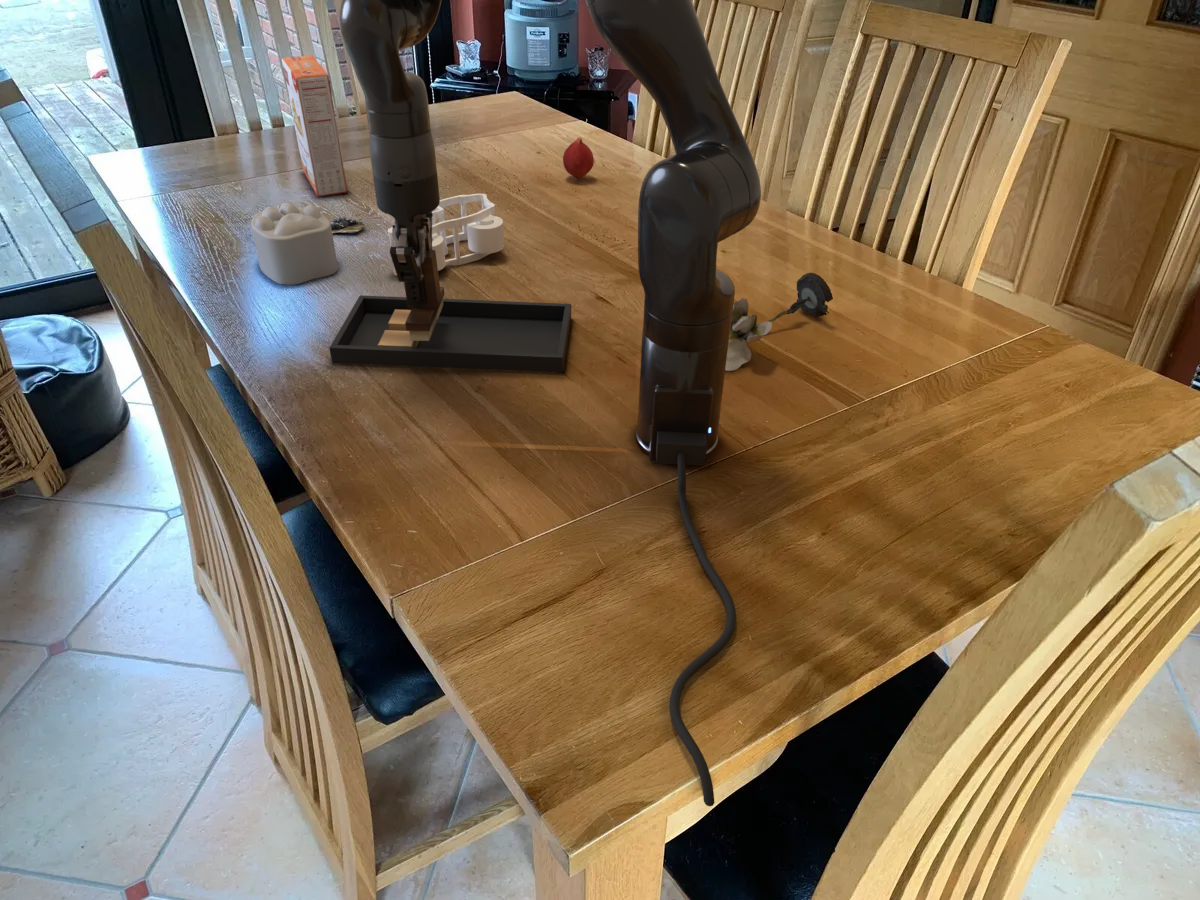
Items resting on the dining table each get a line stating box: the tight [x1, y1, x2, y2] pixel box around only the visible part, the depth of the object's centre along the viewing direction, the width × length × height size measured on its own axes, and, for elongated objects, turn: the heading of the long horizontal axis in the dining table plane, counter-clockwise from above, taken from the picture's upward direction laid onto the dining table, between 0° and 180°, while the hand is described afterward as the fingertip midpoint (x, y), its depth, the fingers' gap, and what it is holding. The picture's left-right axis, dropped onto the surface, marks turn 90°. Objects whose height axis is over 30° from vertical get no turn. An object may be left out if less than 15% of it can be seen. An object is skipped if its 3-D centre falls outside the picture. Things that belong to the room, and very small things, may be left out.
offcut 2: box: [378, 330, 419, 348], centre depth 117 cm, size 4×4×2 cm
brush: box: [403, 250, 445, 341], centre depth 115 cm, size 10×4×10 cm, turn 178°
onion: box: [562, 137, 595, 181], centre depth 169 cm, size 6×6×8 cm
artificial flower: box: [725, 272, 834, 372], centre depth 120 cm, size 9×22×10 cm, turn 127°
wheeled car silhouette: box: [387, 193, 505, 277], centre depth 139 cm, size 20×11×7 cm, turn 132°
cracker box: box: [281, 54, 349, 198], centre depth 160 cm, size 14×6×21 cm, turn 25°
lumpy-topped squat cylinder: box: [250, 202, 339, 286], centre depth 136 cm, size 10×13×9 cm
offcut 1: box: [388, 309, 411, 331], centre depth 121 cm, size 4×4×2 cm
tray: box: [328, 294, 572, 374], centre depth 119 cm, size 15×30×3 cm, turn 87°
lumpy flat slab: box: [330, 216, 366, 234], centre depth 149 cm, size 7×8×2 cm
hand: (419, 299), depth 116 cm, fingers closed on brush, 2 cm apart
